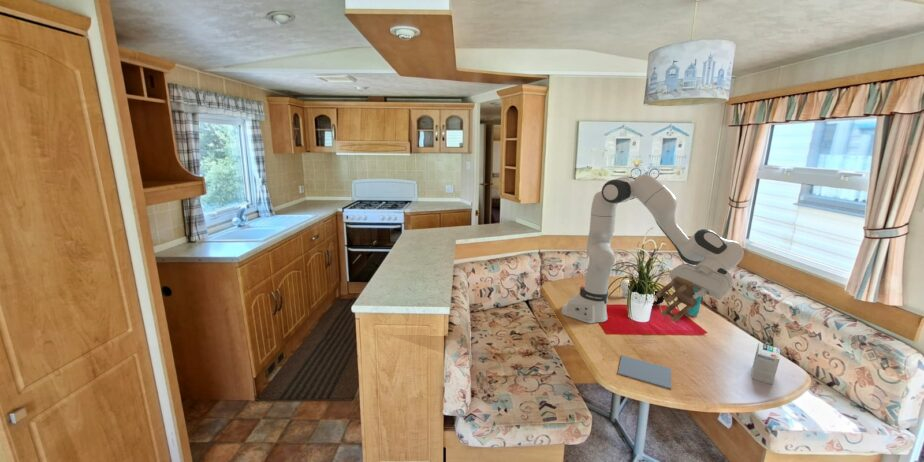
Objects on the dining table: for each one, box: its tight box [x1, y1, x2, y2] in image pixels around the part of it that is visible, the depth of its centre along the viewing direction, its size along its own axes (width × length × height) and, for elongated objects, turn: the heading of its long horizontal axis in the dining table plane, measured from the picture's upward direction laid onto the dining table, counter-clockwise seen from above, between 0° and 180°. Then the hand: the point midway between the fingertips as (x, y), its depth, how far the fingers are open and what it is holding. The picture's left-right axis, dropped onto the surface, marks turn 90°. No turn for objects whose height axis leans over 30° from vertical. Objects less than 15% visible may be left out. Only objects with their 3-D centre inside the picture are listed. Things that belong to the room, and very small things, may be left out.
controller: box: [653, 291, 670, 305], centre depth 206 cm, size 4×12×10 cm, turn 26°
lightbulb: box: [619, 279, 630, 299], centre depth 213 cm, size 6×6×11 cm
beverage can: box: [686, 289, 703, 317], centre depth 194 cm, size 6×6×15 cm
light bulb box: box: [751, 342, 781, 386], centre depth 144 cm, size 11×7×11 cm, turn 140°
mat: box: [617, 355, 672, 390], centre depth 145 cm, size 18×14×1 cm
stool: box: [655, 276, 697, 323], centre depth 138 cm, size 12×6×11 cm, turn 111°
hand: (683, 292), depth 139 cm, fingers closed on stool, 6 cm apart
